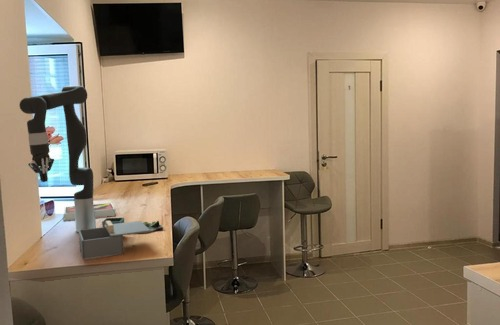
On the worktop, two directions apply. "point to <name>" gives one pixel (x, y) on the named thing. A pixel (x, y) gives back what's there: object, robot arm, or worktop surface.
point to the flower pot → (113, 220)
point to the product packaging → (99, 209)
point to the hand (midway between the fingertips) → (44, 181)
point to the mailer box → (99, 243)
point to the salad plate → (152, 226)
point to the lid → (125, 228)
